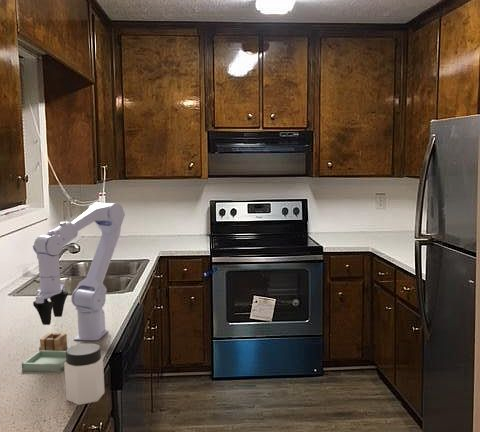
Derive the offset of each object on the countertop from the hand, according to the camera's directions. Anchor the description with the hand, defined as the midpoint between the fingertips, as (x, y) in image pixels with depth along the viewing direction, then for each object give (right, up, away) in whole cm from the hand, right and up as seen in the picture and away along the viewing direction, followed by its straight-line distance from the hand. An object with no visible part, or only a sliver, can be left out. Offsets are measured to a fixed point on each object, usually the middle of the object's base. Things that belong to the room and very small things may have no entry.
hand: (52, 320), depth 160 cm
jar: (+18, -13, -30) cm, 38 cm away
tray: (+2, -10, -9) cm, 14 cm away
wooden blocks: (0, -9, +1) cm, 9 cm away
